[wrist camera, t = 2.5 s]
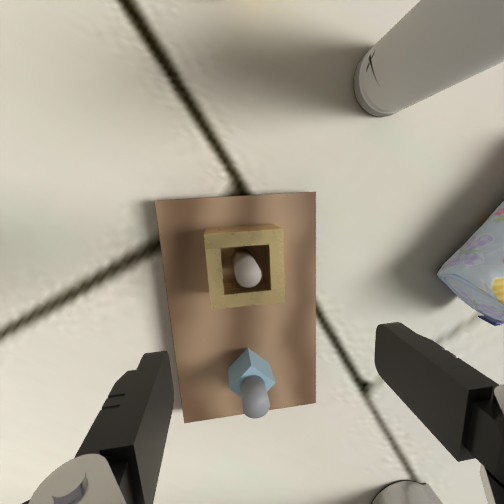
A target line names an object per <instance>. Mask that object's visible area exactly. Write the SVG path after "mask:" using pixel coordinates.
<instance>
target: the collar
mask: <svg viewBox="0 0 504 504" xmlns="http://www.w3.org/2000/svg"><path fill="white" fill-rule="evenodd" d="M204 242H205V252H206V263H207V273H208V284H209V294H210V305H211V310H213V309H223V308H232V307H242V306H251V305H261V304H270V303H280V302H285V274H284V238H283V228H281V227H279V226H277V225H274V224H263V225H248V226H234V227H219V228H206V230H205V233H204ZM254 245H262V263H263V276H261V279H260V281H259V283H258V284H257V285H255V286H253V287H243V286H241V285H240V284H239V283H238V282H237V280H236V279H228V280H223V271H222V259H221V248H228V247H241V246H254Z"/></svg>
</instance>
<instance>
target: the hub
mask: <svg viewBox="0 0 504 504" xmlns="http://www.w3.org/2000/svg"><path fill="white" fill-rule="evenodd" d="M228 376H229V390H231V391H232V392H234V393H235V394H237V395H238V396H240V397H241V398H242V406H243V412H244V414H245V415H246V416H248V417H250V418H260V417H262V416H264V415H265V414H266V413H267V412H268V411H269V408H270V402H269V398H268V394H267V391H268V390H269V389H270V388H271V387H272V386H273V385H274V384H275V379H274V376H273V373H272V370H271V366H270V363H268V362H267V361H266V360H264V359H263V358H261V357H260V356H259V355H257V354H256V353H255V352H253V351H252V350H251V349H249V348H247V349H246V350H245V351H244V352H243V353H242V354H241V355H240V357H239V358H238V359H237V360H236V361H235V362H234V363H233V364H232V365H231V366H230V367H229V369H228Z"/></svg>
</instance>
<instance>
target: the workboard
mask: <svg viewBox="0 0 504 504" xmlns="http://www.w3.org/2000/svg"><path fill="white" fill-rule="evenodd" d="M155 207H156V214H157V222H158V229H159V237H160V244H161V252H162V259H163V267H164V274H165V282H166V289H167V297H168V304H169V312H170V319H171V327H172V334H173V342H174V349H175V357H176V364H177V372H178V379H179V387H180V394H181V402H182V409H183V417H184V423H189V422H195V421H202V420H208V419H215V418H221V417H228V416H234V415H241V414H244V412H243V406H242V398H241V397H240V396H238V395H237V394H235V393H234V392H232V391H231V390H229V376H228V369H229V367H230V366H231V365H232V364H233V363H234V362H235V361H236V360H237V359H238V358H239V357H240V355H241V354H242V353H243V352H244V351H245V350H246V349H247V348H249V349H251V350H252V351H253V352H255V353H256V354H257V355H259V356H260V357H261V358H263V359H264V360H266V361H267V362H268V363H270V366H271V370H272V373H273V376H274V379H275V384H274V385H273V386H272V387H271V388H270V389H269V390H268V391H267V394H268V398H269V402H270V408H269V410H273V409H280V408H286V407H293V406H299V405H305V404H312V403H316V192H303V193H284V194H266V195H248V196H230V197H211V198H193V199H175V200H157V201H155ZM263 224H274V225H277V226H279V227H281V228H283V238H284V274H285V302H280V303H270V304H261V305H251V306H242V307H232V308H223V309H213V310H211V305H210V294H209V284H208V273H207V263H206V252H205V242H204V233H205V230H206V228H219V227H234V226H248V225H263ZM221 259H222V271H223V280H228V279H236V280H237V282H238V283H239V284H240V285H241V286H243V287H253V286H255V285H257V284H258V283H259V281H260V279H261V276H263V263H262V245H254V246H241V247H228V248H221Z"/></svg>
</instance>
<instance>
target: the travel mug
mask: <svg viewBox="0 0 504 504" xmlns="http://www.w3.org/2000/svg"><path fill="white" fill-rule="evenodd" d="M503 61H504V0H421V1H420V2H419V3H418V4H417V5H415V6H414V7H413V8H412V9H411V10H410V11H409V12H408V13H407V14H406V15H405V16H404V17H403V18H402V19H401V20H400V21H399V22H398V23H397V24H396V25H395V26H394V27H393V28H392V29H391V30H390V31H389V32H388V33H387V34H386V35H385V36H384V37H383V38H382V39H381V40H380V41H378V42H377V43H376V44H375V45H374V46H373V47H372V48H371V49H370V50H369V51H368V52H367V53H366V54H365V55H364V56H363V58H362V59H361V60H360V62H359V64H358V66H357V68H356V72H355V75H354V91H355V96H356V98H357V100H358V102H359V104H360V105H361V107H362V108H363V109H364V110H365V111H366V112H368V113H370V114H371V115H374V116H379V117H384V116H389V115H392V114H394V113H396V112H399V111H401V110H402V109H405V108H407V107H409V106H411V105H413V104H415V103H417V102H420V101H422V100H424V99H426V98H428V97H430V96H432V95H434V94H436V93H438V92H440V91H443V90H445V89H447V88H449V87H451V86H453V85H455V84H457V83H459V82H461V81H464V80H466V79H468V78H470V77H472V76H474V75H476V74H478V73H480V72H482V71H484V70H487V69H489V68H491V67H493V66H495V65H497V64H499V63H501V62H503Z"/></svg>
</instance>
